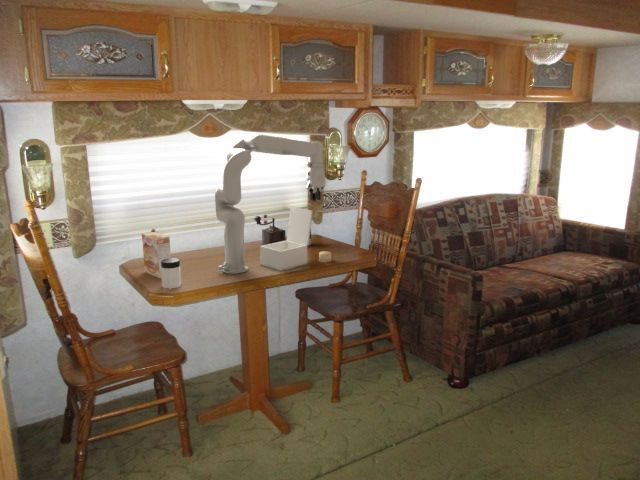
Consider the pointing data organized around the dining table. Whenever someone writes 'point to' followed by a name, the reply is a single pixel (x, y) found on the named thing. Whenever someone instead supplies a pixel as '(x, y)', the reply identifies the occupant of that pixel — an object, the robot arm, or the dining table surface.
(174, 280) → the jar
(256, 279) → the dining table surface
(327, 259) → the beige egg-shaped stone
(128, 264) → the dining table surface
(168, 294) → the dining table surface
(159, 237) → the coffeecake box
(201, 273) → the dining table surface
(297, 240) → the box lid
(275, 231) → the brown coffee grinder
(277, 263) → the carton
